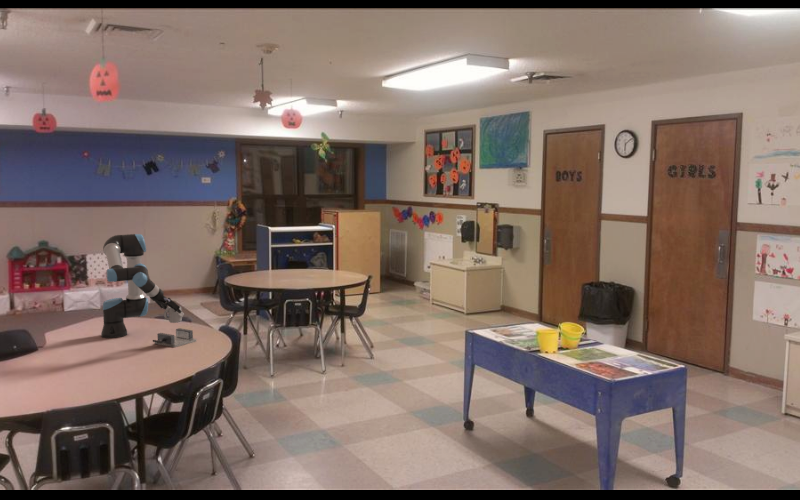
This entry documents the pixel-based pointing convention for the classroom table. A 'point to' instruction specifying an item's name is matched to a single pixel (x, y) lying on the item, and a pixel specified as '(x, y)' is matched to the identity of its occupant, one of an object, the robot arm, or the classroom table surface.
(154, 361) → the classroom table surface
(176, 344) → the vise
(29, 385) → the classroom table surface
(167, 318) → the cup
